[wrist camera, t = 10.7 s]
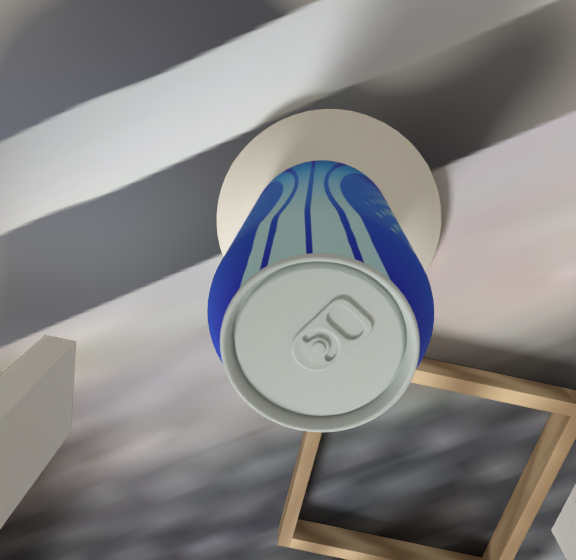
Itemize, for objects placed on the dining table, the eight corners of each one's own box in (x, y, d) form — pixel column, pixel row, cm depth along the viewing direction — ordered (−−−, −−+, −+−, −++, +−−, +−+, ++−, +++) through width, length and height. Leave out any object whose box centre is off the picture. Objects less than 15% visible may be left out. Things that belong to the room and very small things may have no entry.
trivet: (205, 297, 35) (202, 303, 34) (238, 86, 30) (235, 85, 29) (402, 340, 35) (404, 347, 34) (468, 136, 30) (473, 138, 29)
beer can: (392, 281, 32) (452, 446, 17) (265, 293, 33) (217, 461, 18) (384, 148, 29) (446, 210, 14) (244, 166, 30) (167, 242, 15)
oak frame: (279, 524, 42) (277, 544, 40) (328, 337, 35) (329, 351, 33) (489, 568, 42) (497, 590, 40) (577, 390, 35) (591, 407, 34)
